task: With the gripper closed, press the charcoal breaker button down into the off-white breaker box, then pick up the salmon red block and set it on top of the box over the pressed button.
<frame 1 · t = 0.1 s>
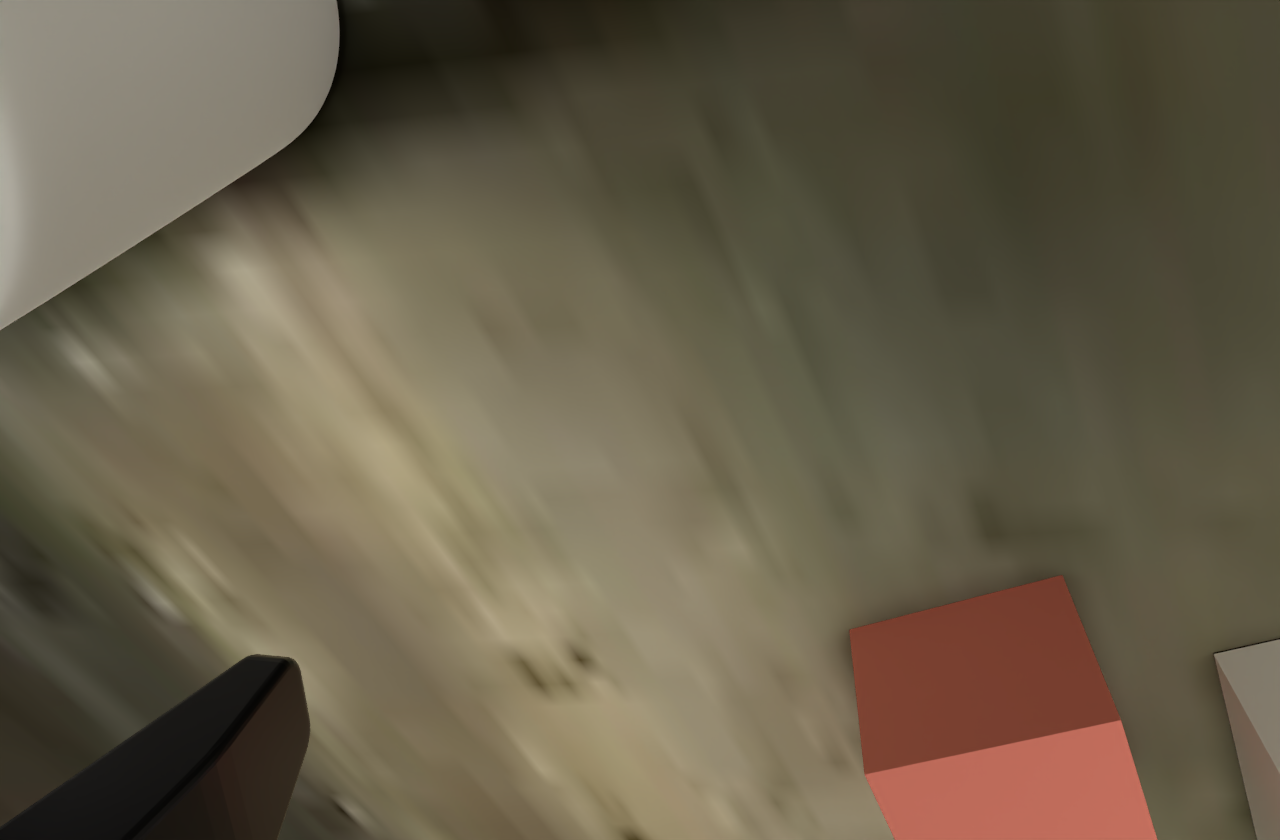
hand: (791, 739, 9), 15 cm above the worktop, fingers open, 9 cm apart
salmon red block: (987, 695, 28), on the worktop
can: (198, 2, 21), on the worktop
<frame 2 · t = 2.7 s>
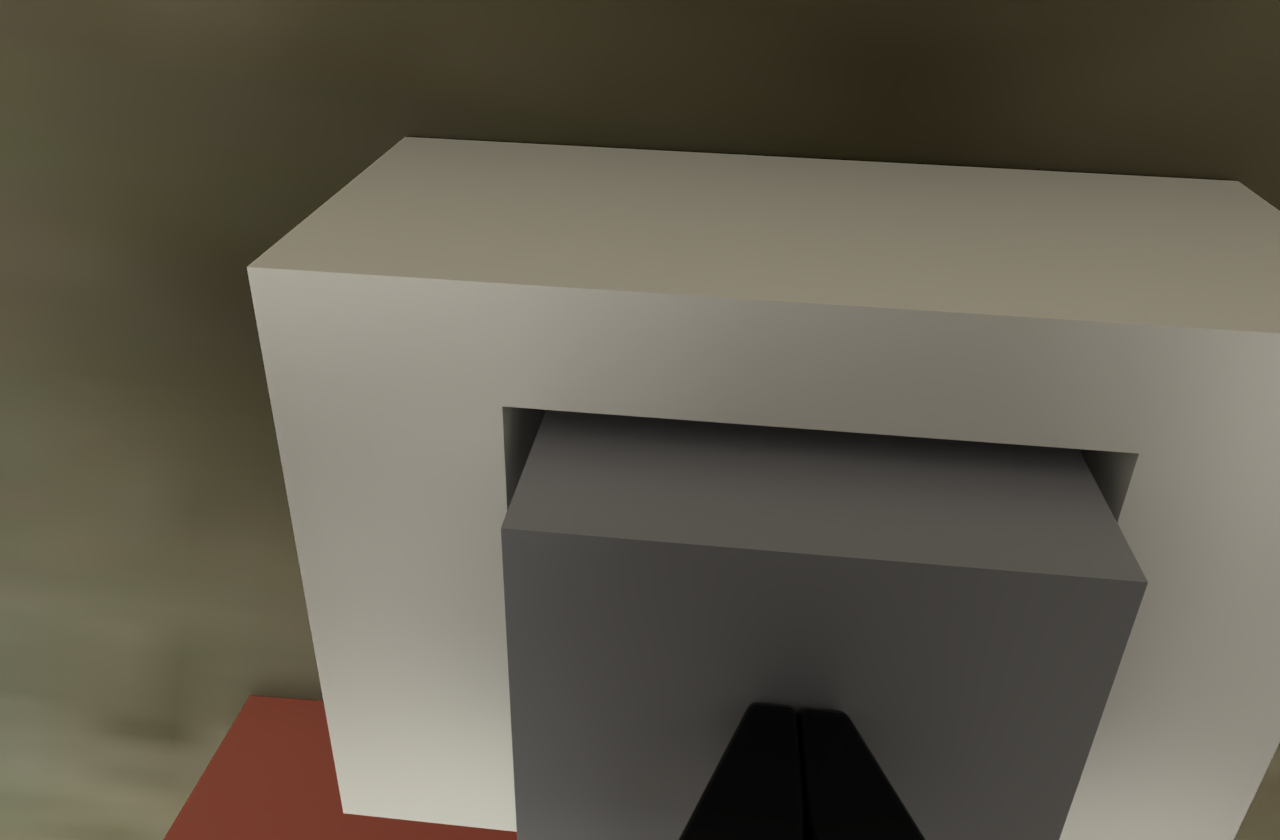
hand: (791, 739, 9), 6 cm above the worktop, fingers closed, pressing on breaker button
salmon red block: (459, 811, 19), on the worktop
breaker button: (787, 624, 10), point 4 cm above the worktop, slide at 0.1 cm, touching gripper
breaker box: (781, 410, 14), on the worktop
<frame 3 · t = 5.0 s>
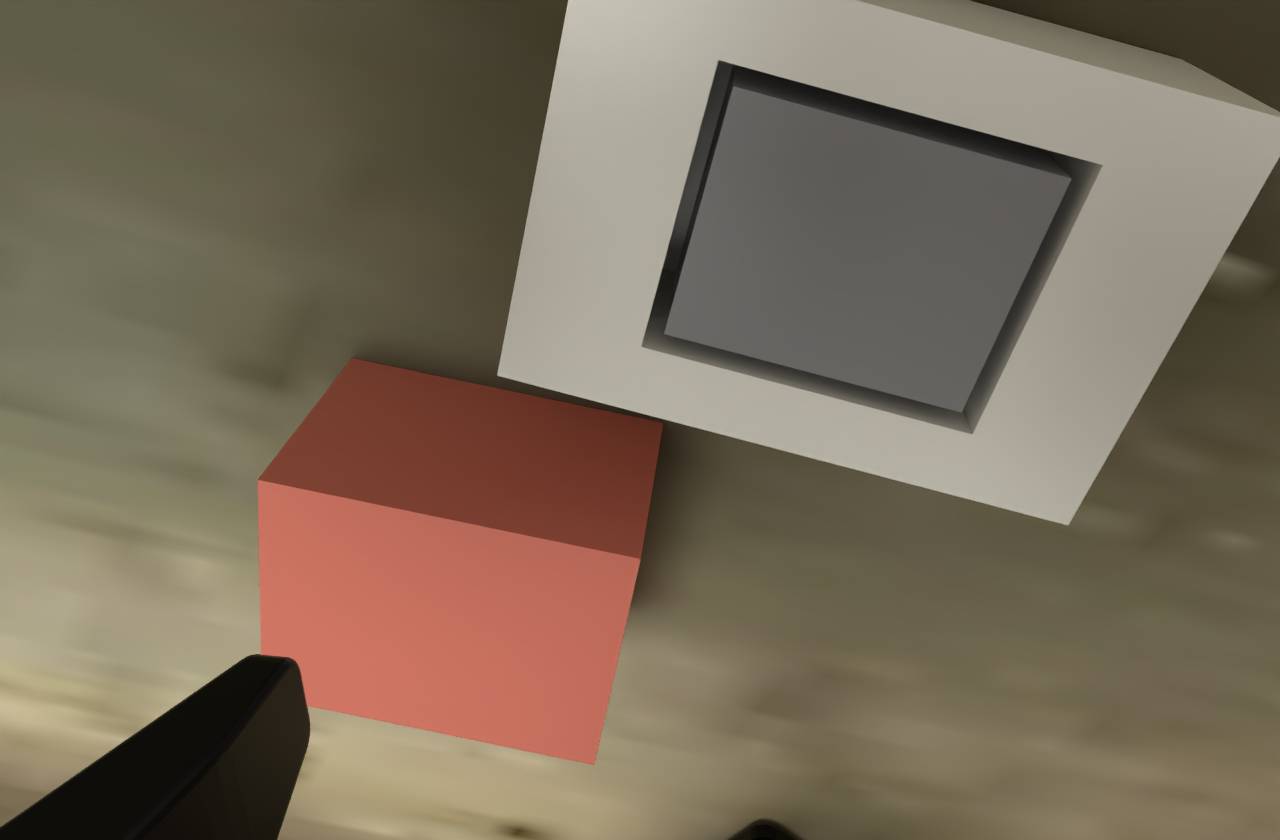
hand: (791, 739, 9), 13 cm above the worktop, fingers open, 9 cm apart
salmon red block: (496, 488, 24), on the worktop
breaker button: (848, 227, 17), point 3 cm above the worktop, slide at 1.6 cm
breaker box: (837, 176, 19), on the worktop
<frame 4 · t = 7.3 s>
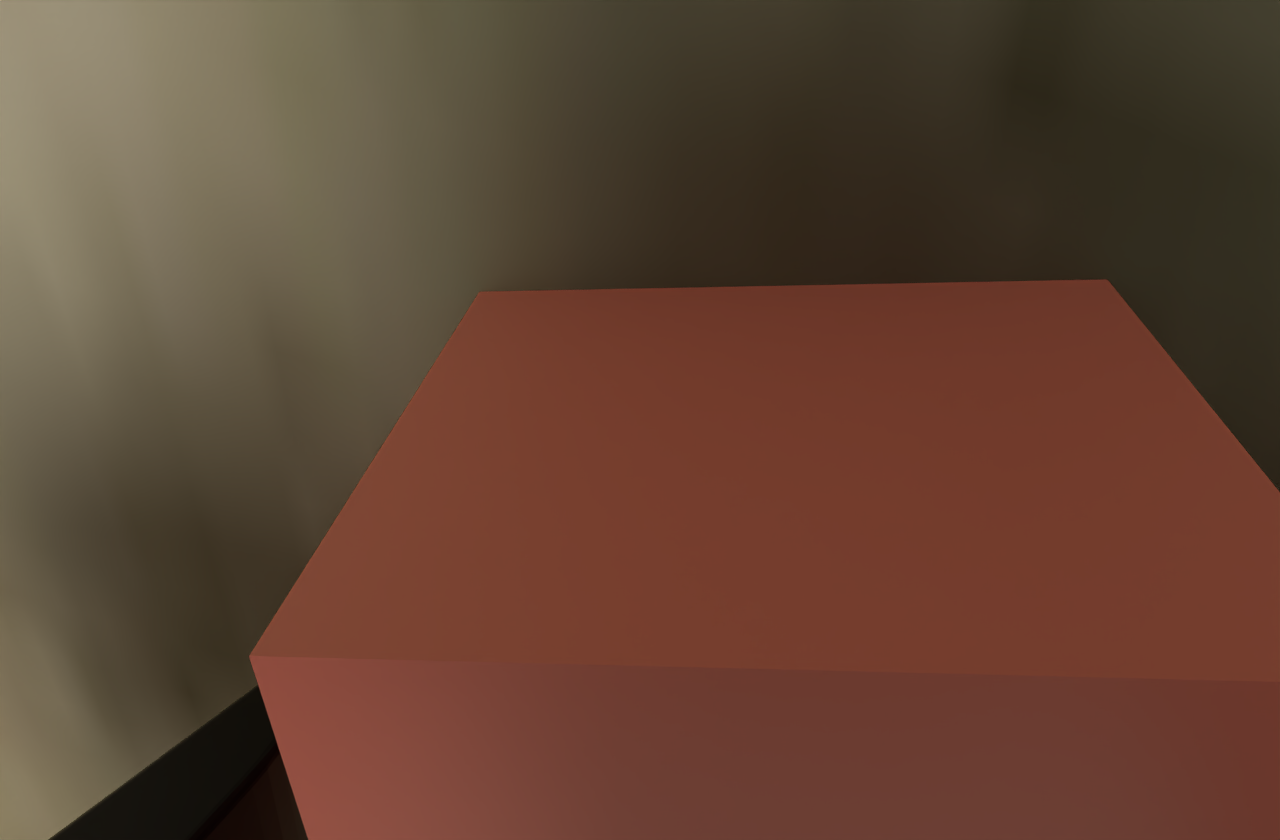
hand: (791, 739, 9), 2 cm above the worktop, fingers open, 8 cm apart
salmon red block: (779, 589, 11), on the worktop
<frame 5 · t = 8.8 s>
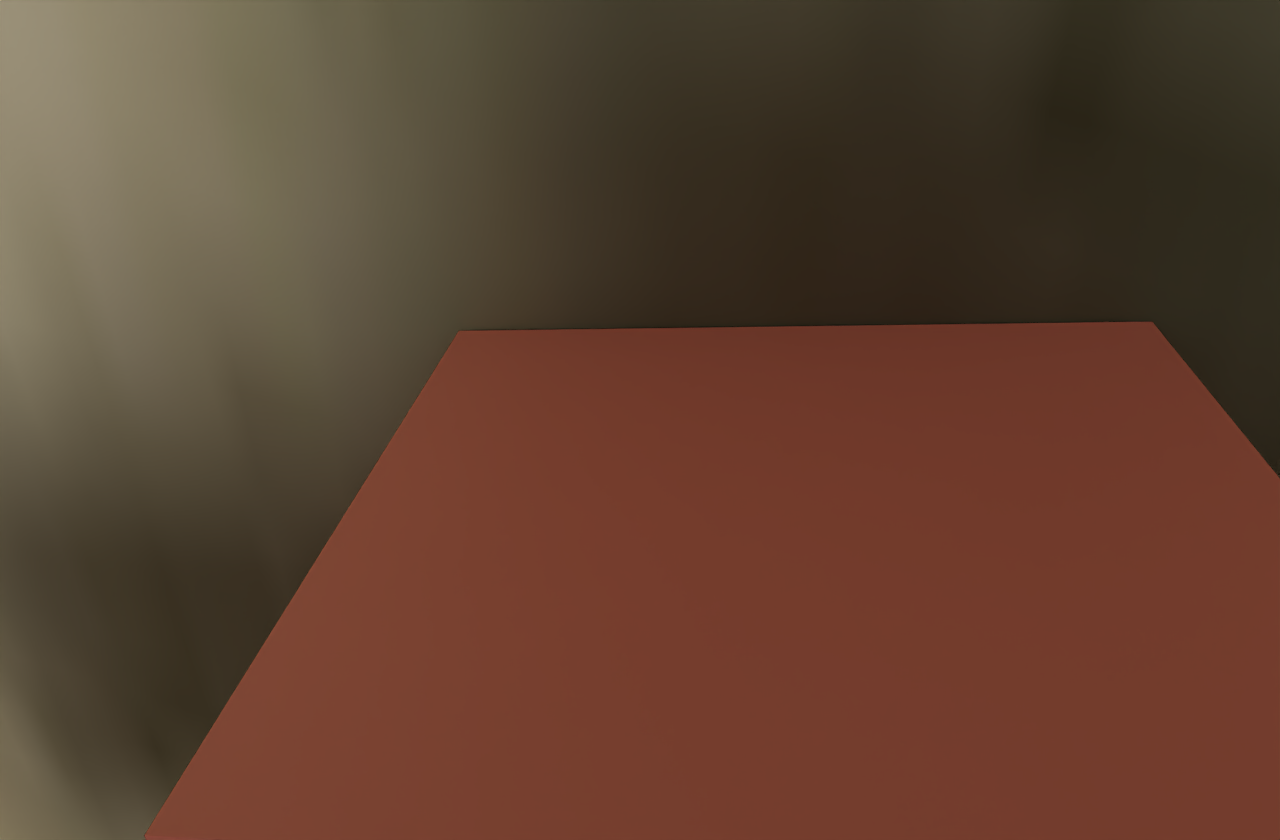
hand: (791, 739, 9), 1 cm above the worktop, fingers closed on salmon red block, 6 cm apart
salmon red block: (787, 656, 10), on the worktop, touching gripper
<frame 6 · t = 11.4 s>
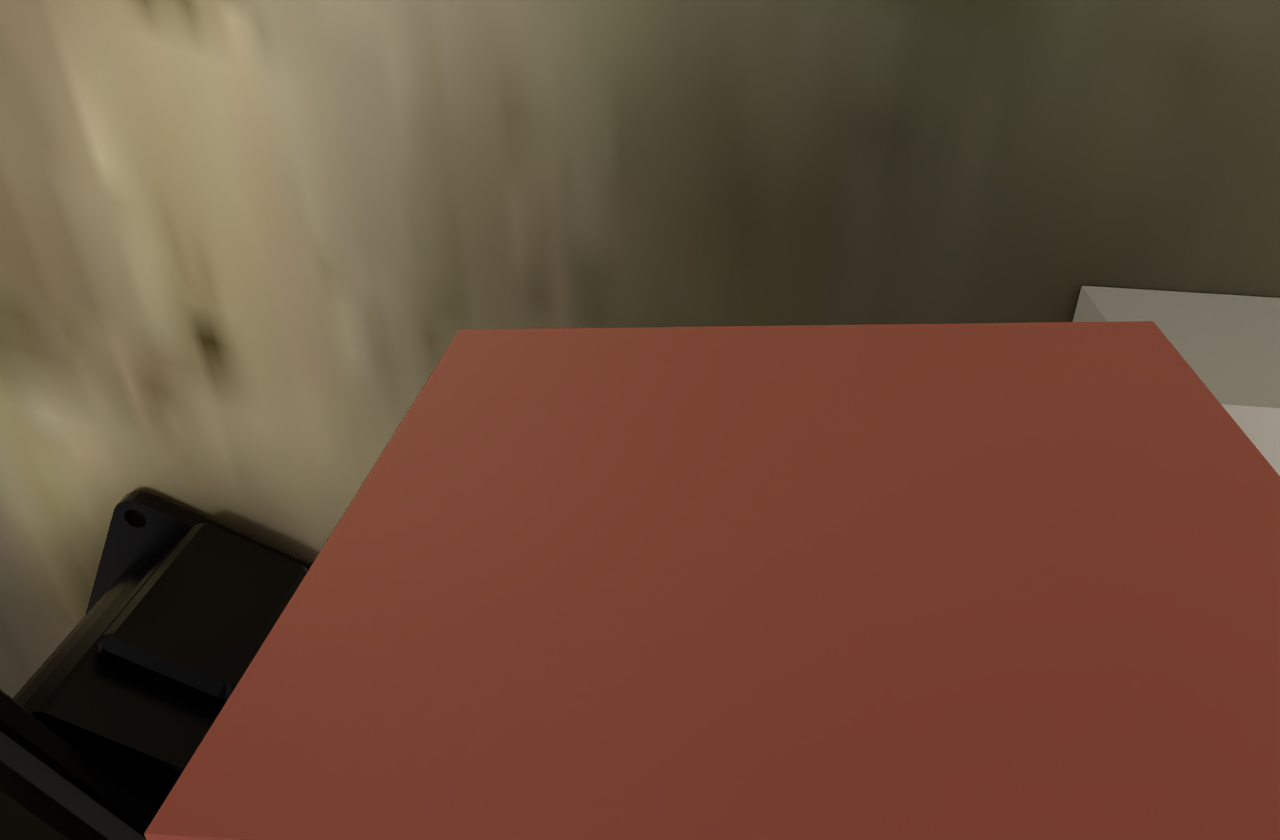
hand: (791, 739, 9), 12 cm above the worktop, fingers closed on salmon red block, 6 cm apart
salmon red block: (787, 656, 10), point 11 cm above the worktop, touching gripper
breaker box: (1197, 520, 21), on the worktop
when the fingers open (7 cm above the worktop, at t = 14.0 s): salmon red block drops 2 cm, resting on breaker box.
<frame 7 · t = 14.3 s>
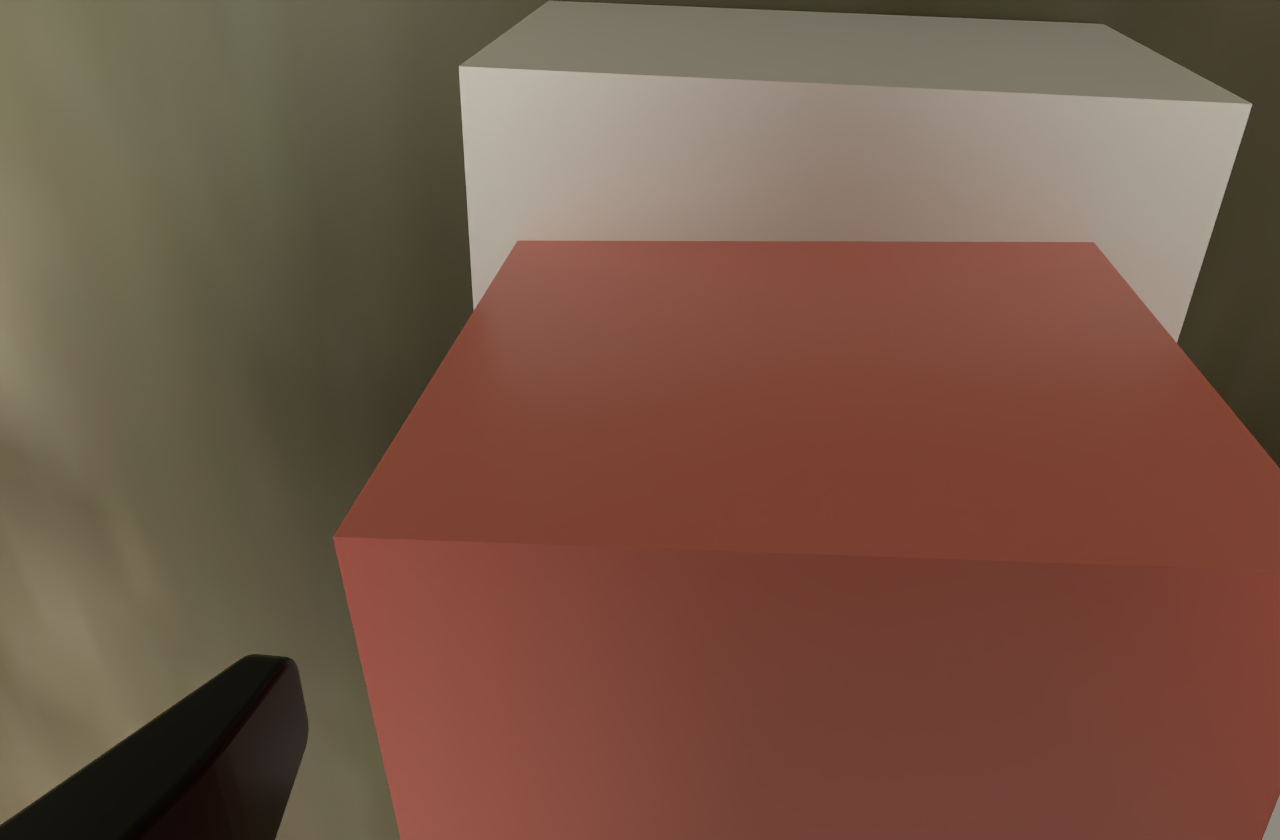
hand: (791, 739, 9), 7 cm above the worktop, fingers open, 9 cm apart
salmon red block: (784, 536, 12), point 4 cm above the worktop, touching breaker box
breaker box: (782, 363, 15), on the worktop
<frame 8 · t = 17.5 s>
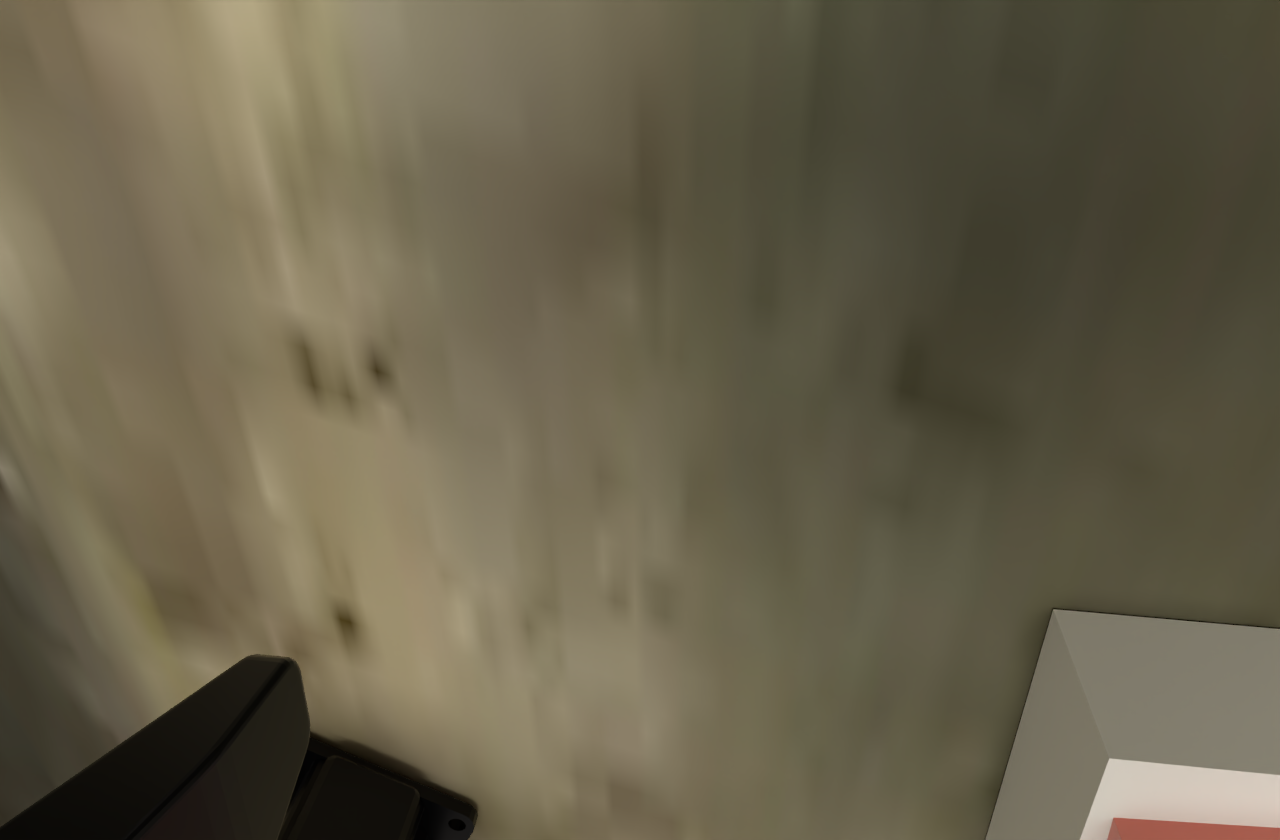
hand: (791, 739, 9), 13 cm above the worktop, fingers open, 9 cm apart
breaker box: (1148, 772, 26), on the worktop
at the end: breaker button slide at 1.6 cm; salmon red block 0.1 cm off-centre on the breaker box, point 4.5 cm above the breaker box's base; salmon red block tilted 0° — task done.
